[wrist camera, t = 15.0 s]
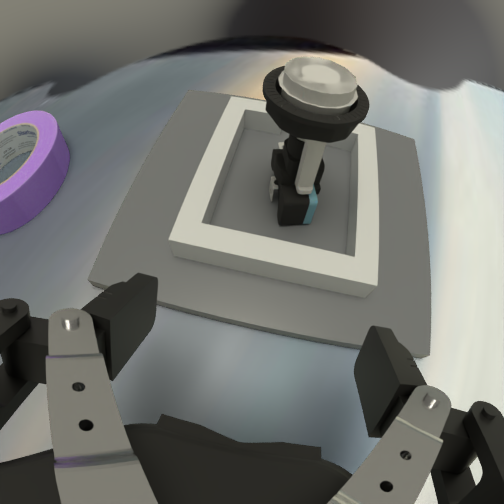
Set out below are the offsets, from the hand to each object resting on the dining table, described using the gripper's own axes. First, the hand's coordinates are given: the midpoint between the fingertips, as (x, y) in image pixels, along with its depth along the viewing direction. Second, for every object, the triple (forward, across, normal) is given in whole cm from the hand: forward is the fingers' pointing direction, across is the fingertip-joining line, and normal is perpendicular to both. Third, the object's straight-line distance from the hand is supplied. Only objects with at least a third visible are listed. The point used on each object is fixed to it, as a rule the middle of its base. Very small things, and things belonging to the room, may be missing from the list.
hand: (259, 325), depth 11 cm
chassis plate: (+14, 0, -3) cm, 14 cm away
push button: (+13, 0, -4) cm, 13 cm away
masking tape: (+12, +24, -1) cm, 27 cm away
